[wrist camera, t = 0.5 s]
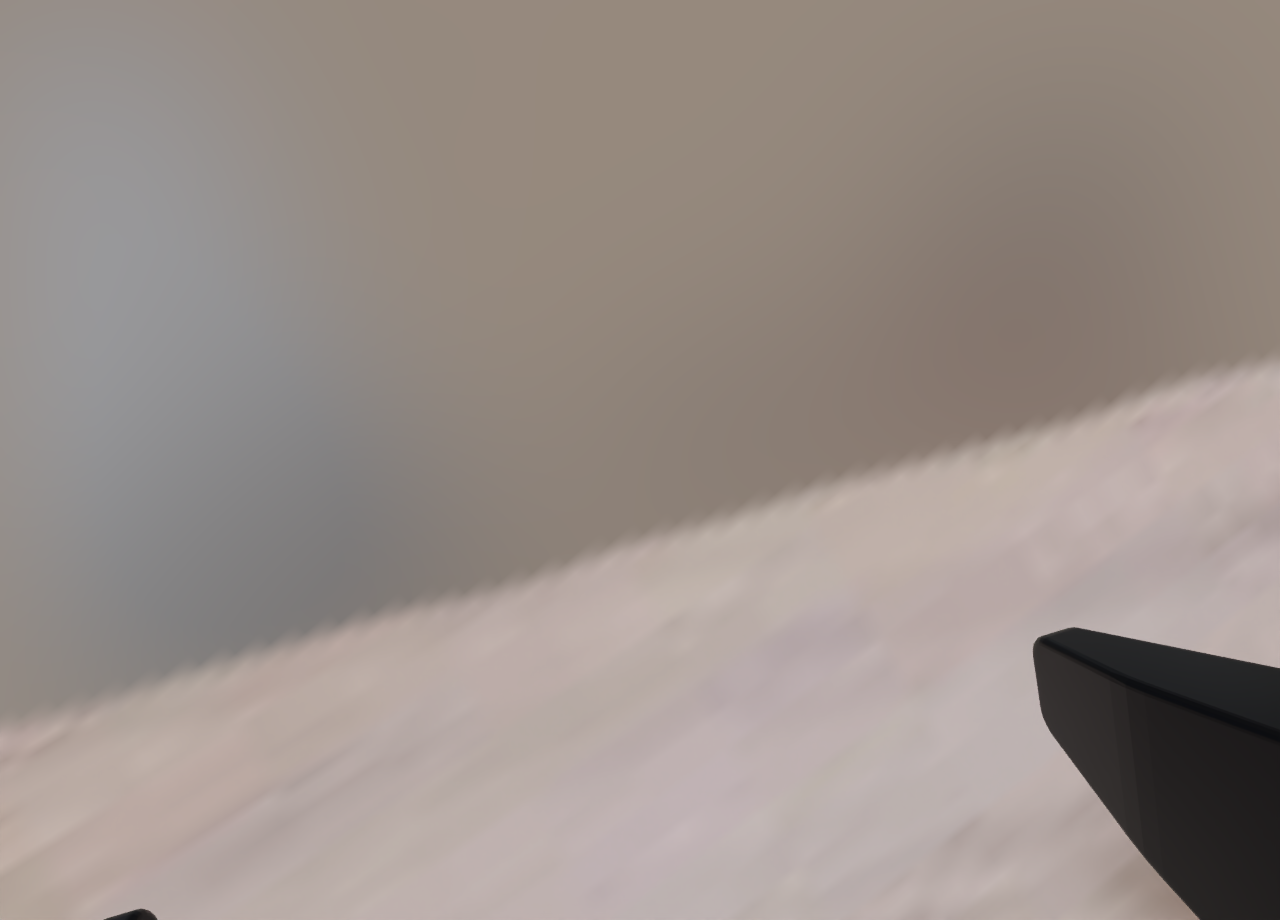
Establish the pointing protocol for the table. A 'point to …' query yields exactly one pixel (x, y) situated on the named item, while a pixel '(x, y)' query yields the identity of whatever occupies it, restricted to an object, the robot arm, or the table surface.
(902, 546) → the table surface
